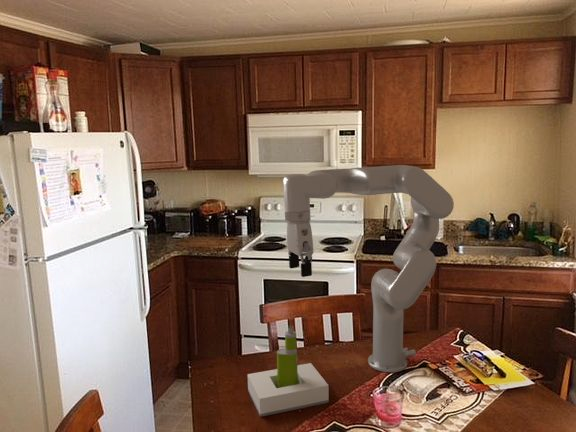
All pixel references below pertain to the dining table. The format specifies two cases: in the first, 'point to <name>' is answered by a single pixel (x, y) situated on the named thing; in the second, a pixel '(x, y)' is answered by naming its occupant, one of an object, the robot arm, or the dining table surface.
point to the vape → (287, 361)
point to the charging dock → (287, 391)
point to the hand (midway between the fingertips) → (300, 271)
